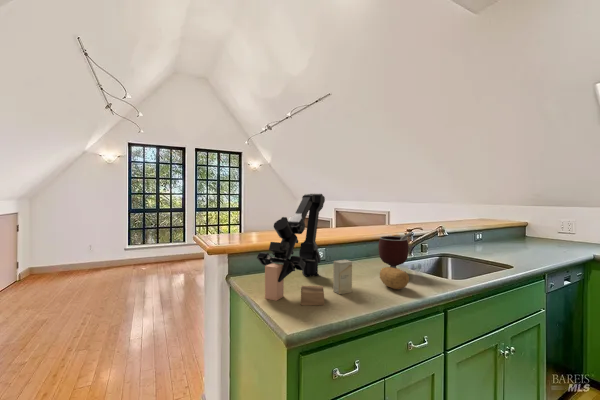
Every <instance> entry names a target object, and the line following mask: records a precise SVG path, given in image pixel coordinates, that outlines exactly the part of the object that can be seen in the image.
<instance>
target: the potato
mask: <svg viewBox="0 0 600 400" xmlns="http://www.w3.org/2000/svg"><path fill="white" fill-rule="evenodd" d="M380 270H381V271H379V279H380V280H381V282H382V284H383V285H384V286H386V287H389V288H391V289H393V290H401V289H404V288H406V287H407V285H408V284H409V282H410V276H409V274H408V273H407V272H406V271H405V270H403V269H400V268H397V267H396V268H392V267H390V266H386V267H382V268H381V269H380ZM402 270H403V271H402ZM404 271H405V272H406V273H405V272H404Z"/></svg>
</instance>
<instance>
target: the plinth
mask: <svg viewBox="0 0 600 400" xmlns="http://www.w3.org/2000/svg"><path fill="white" fill-rule="evenodd" d="M300 305H301V306H325V291H324V286H323V285H301V286H300Z"/></svg>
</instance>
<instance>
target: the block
mask: <svg viewBox="0 0 600 400" xmlns="http://www.w3.org/2000/svg"><path fill="white" fill-rule="evenodd" d="M282 269H283V263H275V262H274V263H271V264H269V265H266V266H265V265H264V299H266V300H271V301H276V302H277V301H278V300H280V299H281V298H283V297H284V293H285V291H284V287H285V285H284V279H285V278H284V279H283V280H282V281H281V282H278V279H279V276H280V273H281V271H282Z"/></svg>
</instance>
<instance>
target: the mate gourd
mask: <svg viewBox="0 0 600 400" xmlns="http://www.w3.org/2000/svg"><path fill="white" fill-rule="evenodd" d="M412 235H413V232H409V233H407V234H404V235H403V236H395V235H386V236H385V235H382V236H379V240H378V255H379V258H380V260H381V261H382V262H383V263H384V264H386V265H389V267H392V268H397V266H400V265H403V264H405V262H406V261H407V259H408V258H409V252H410V251H409V249H410V248H409V241H408V237H409V236H412ZM401 270H402V271H404V272H405V273H407V272H406V271H405V270H403V269H401ZM380 271H381V269H380ZM380 271H379V272H380Z"/></svg>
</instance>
